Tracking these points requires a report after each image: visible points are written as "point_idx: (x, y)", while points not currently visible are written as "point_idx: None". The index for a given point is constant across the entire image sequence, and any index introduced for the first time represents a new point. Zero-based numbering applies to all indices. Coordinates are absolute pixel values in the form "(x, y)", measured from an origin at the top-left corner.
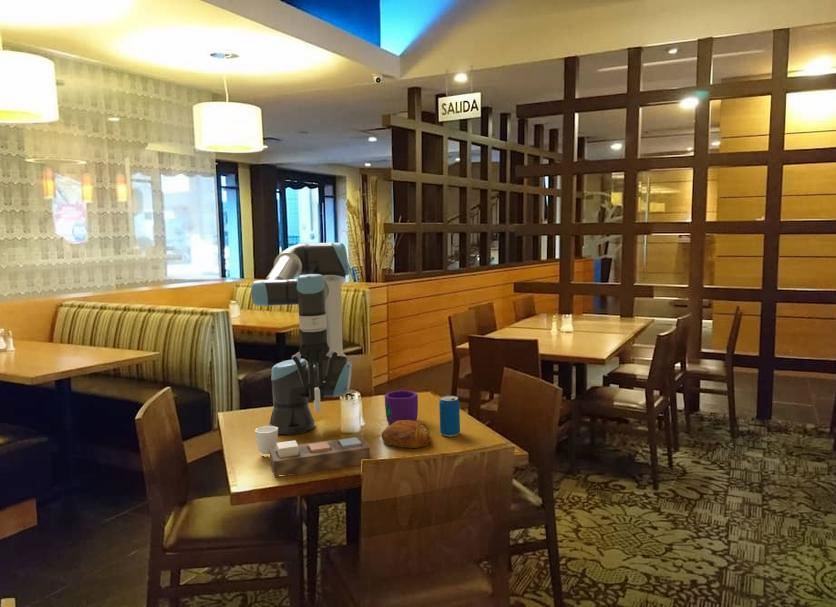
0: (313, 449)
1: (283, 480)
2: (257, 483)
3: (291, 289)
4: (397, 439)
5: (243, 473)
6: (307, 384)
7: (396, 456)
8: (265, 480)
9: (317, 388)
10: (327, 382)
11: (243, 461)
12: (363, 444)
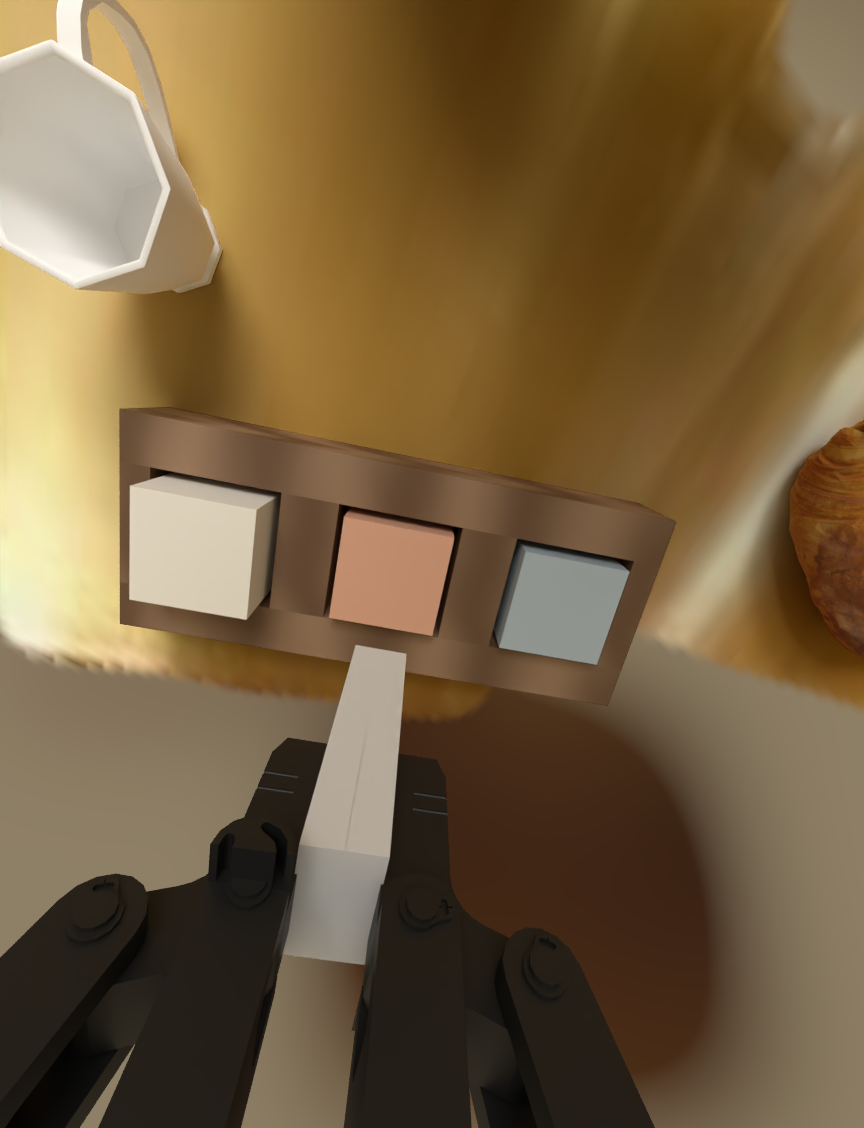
0: (342, 614)
1: (194, 640)
2: (84, 611)
3: None
4: (819, 605)
5: (24, 458)
6: (111, 1076)
7: (713, 661)
8: None
9: (352, 910)
10: (503, 1105)
11: (25, 264)
12: (609, 652)
